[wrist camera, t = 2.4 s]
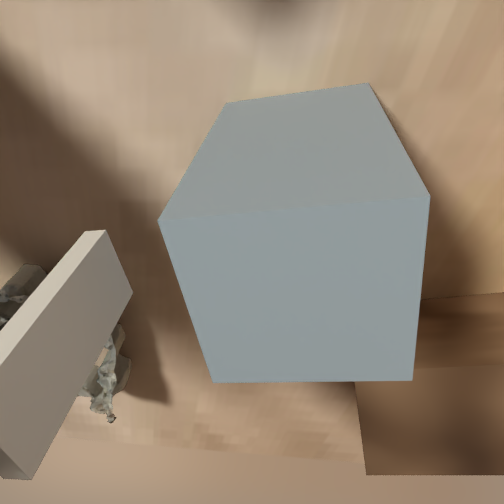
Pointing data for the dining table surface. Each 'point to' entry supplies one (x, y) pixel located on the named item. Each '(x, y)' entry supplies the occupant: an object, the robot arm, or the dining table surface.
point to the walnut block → (442, 396)
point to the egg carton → (100, 378)
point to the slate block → (301, 241)
